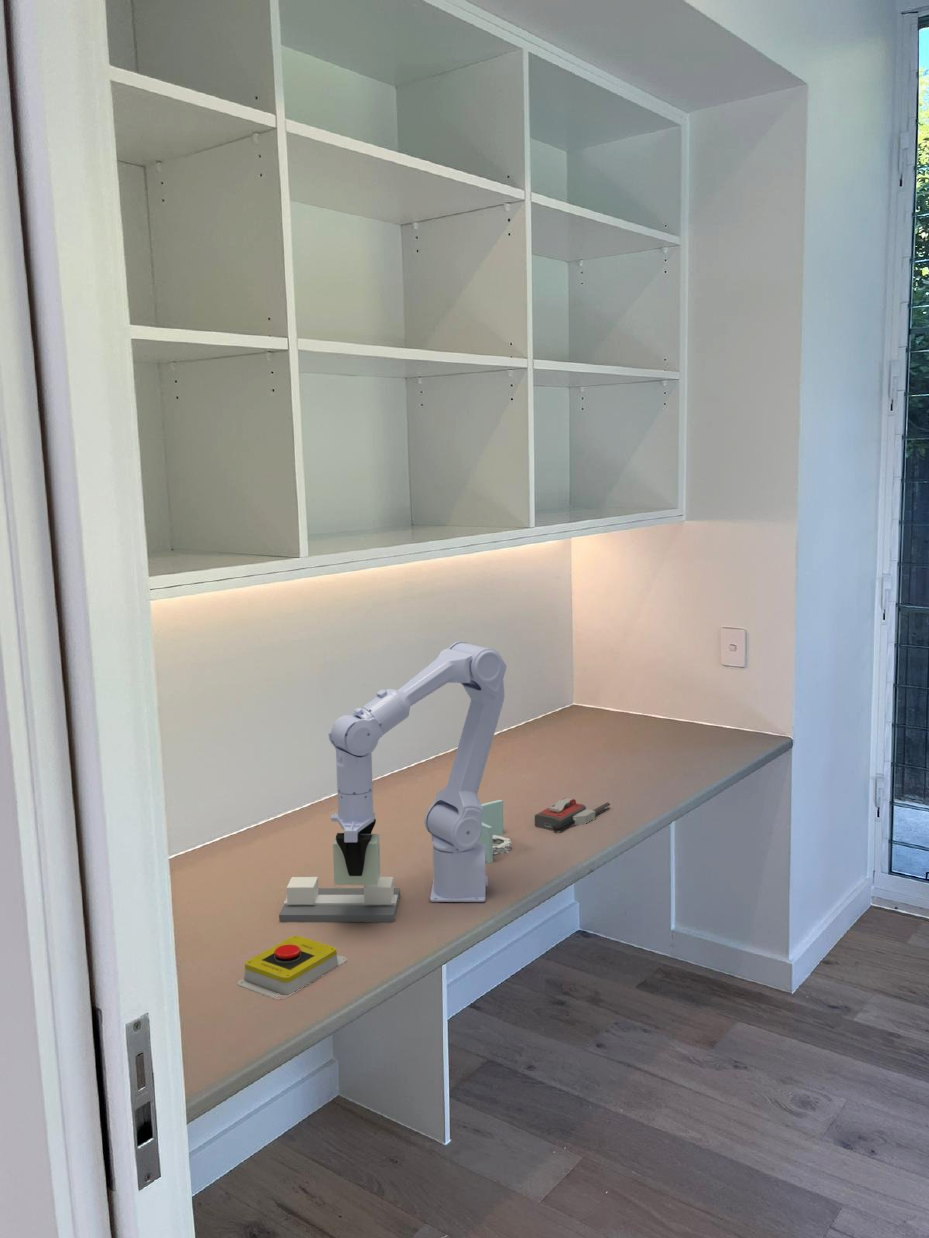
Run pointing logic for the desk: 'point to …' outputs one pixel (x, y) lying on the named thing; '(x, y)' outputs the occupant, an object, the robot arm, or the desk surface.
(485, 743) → the robot arm
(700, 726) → the desk surface
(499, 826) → the l-shaped corner panel
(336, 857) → the block
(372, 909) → the rail board
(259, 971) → the emergency button
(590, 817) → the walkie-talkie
